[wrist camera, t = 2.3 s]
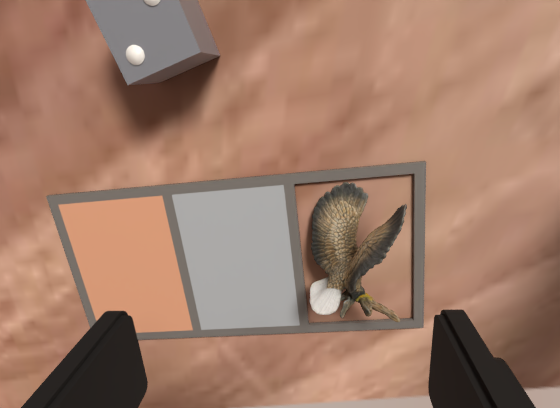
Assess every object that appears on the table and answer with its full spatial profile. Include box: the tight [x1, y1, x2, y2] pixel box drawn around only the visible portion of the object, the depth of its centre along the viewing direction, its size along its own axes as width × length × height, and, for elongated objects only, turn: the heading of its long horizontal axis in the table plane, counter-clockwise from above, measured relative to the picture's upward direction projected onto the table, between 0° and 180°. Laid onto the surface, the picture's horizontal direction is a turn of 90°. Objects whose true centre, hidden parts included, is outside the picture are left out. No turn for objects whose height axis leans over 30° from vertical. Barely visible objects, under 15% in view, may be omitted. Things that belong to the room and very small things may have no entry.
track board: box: [46, 161, 426, 340], centre depth 31 cm, size 30×15×1 cm, turn 96°
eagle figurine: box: [310, 182, 407, 322], centre depth 27 cm, size 8×7×9 cm
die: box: [86, 0, 220, 85], centre depth 23 cm, size 5×5×5 cm
